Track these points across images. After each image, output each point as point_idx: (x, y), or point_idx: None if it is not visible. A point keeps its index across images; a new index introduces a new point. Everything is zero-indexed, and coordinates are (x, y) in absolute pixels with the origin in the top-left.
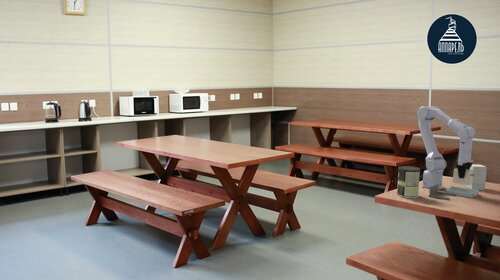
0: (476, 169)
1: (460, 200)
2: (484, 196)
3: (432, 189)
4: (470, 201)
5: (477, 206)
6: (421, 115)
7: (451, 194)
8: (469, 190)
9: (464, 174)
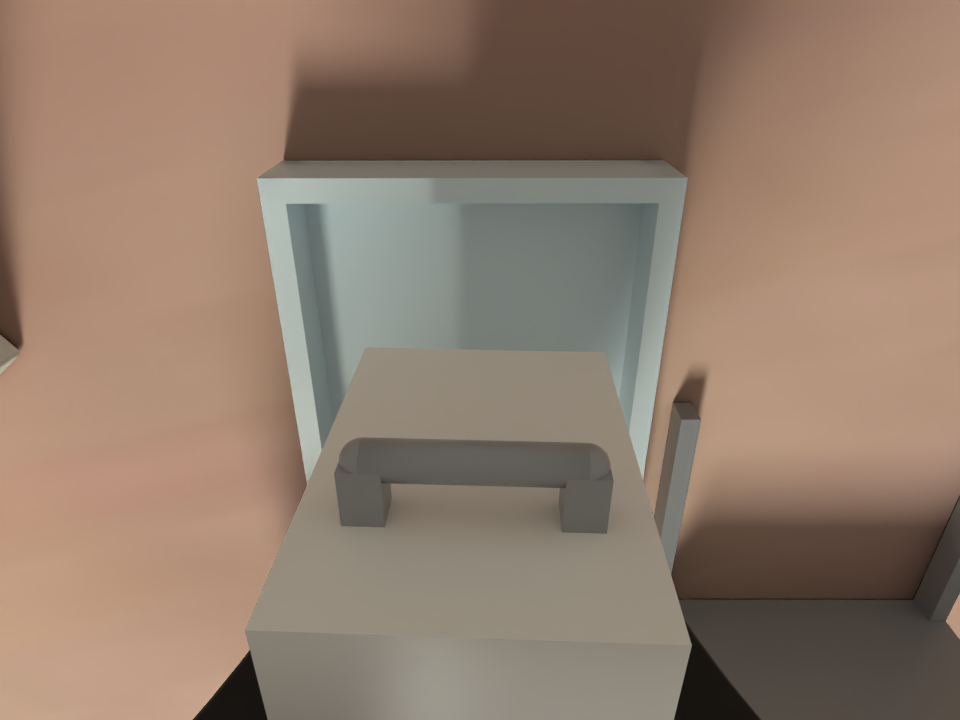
0: None
1: (949, 280)
2: (337, 22)
3: (922, 680)
4: (949, 129)
5: None
6: None
7: (688, 466)
8: (311, 331)
9: (702, 649)
